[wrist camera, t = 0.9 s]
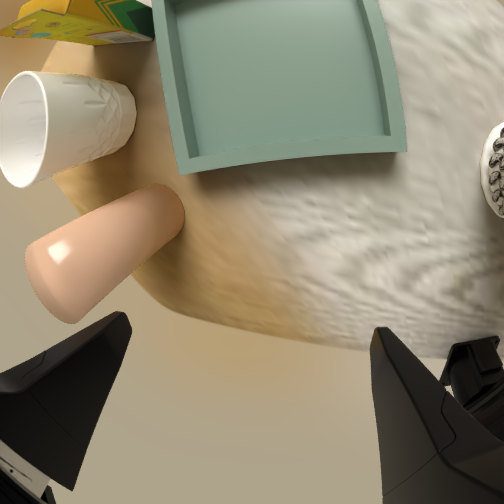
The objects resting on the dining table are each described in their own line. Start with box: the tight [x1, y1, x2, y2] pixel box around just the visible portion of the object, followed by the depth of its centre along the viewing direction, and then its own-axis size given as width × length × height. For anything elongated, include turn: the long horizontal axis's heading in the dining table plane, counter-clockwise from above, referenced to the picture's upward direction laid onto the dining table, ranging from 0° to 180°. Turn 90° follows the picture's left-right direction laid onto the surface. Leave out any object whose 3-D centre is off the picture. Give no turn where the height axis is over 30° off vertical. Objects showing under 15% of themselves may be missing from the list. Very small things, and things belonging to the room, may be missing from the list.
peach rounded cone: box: [25, 184, 185, 324], centre depth 18 cm, size 5×5×12 cm
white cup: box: [0, 71, 137, 188], centre depth 16 cm, size 8×8×10 cm
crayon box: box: [0, 0, 155, 46], centre depth 12 cm, size 7×3×12 cm, turn 77°
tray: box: [151, 0, 407, 175], centre depth 15 cm, size 15×15×3 cm
